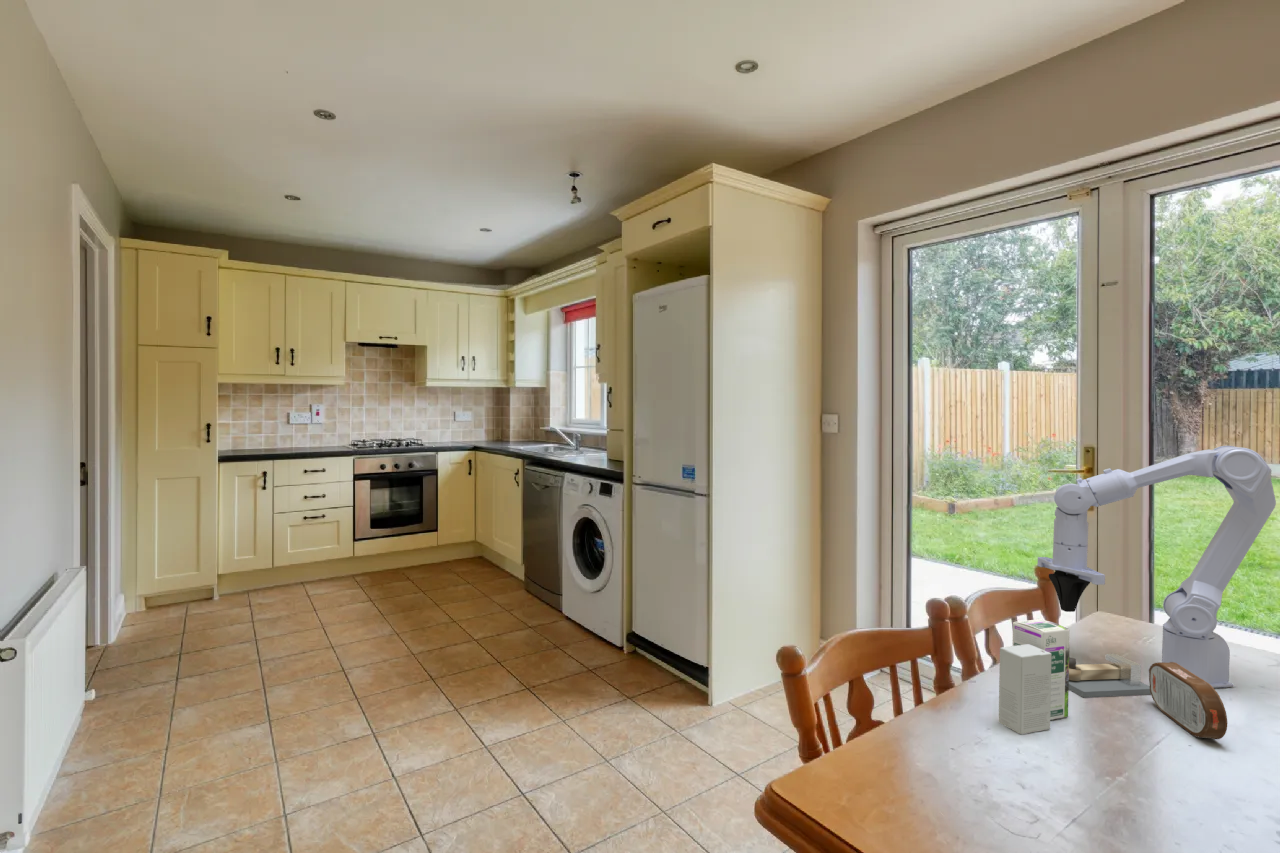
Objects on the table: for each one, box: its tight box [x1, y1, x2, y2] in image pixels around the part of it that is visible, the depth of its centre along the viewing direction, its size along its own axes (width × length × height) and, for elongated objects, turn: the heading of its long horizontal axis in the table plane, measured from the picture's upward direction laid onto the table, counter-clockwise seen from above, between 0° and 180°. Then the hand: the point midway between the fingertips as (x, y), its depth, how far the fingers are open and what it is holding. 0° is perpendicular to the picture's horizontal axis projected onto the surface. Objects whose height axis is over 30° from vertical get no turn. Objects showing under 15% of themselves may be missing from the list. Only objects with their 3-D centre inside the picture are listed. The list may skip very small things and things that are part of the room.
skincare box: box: [998, 644, 1052, 735], centre depth 97 cm, size 6×4×12 cm
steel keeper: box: [1104, 653, 1142, 686], centre depth 113 cm, size 2×5×4 cm, turn 7°
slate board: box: [1068, 663, 1152, 699], centre depth 114 cm, size 14×11×1 cm
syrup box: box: [1012, 618, 1070, 721], centre depth 102 cm, size 6×6×14 cm
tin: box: [1148, 661, 1228, 740], centre depth 99 cm, size 15×3×8 cm, turn 168°
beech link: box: [1069, 656, 1121, 681], centre depth 113 cm, size 12×3×3 cm, turn 97°
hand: (1068, 610), depth 126 cm, fingers closed
